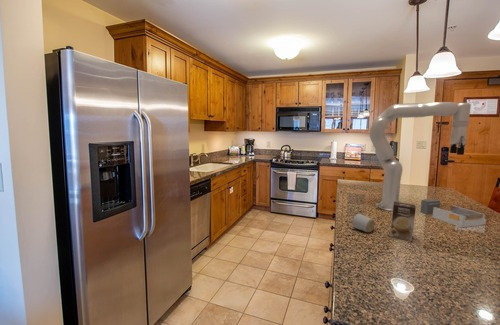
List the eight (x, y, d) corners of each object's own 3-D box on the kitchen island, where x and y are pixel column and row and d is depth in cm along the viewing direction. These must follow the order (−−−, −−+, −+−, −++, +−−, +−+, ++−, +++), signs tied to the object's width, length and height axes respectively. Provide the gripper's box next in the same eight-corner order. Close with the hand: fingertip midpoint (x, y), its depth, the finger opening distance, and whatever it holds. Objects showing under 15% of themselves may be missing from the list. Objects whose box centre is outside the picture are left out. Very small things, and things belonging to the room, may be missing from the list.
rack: (461, 227, 137) (462, 216, 136) (432, 217, 152) (433, 207, 152) (483, 224, 141) (485, 214, 140) (452, 215, 157) (453, 205, 156)
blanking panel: (426, 214, 157) (427, 201, 156) (420, 212, 161) (421, 199, 160) (438, 213, 160) (440, 200, 159) (432, 211, 164) (433, 199, 163)
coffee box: (389, 237, 123) (392, 204, 121) (390, 232, 129) (393, 201, 127) (412, 241, 119) (415, 207, 116) (412, 236, 124) (415, 204, 122)
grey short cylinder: (367, 234, 126) (368, 219, 125) (351, 229, 132) (353, 214, 131) (378, 230, 132) (379, 215, 131) (363, 225, 138) (364, 211, 138)
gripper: (446, 124, 160) (443, 152, 162) (458, 124, 144) (455, 155, 146) (461, 124, 158) (457, 152, 160) (475, 124, 141) (471, 155, 144)
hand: (456, 153), depth 153 cm, fingers open, 9 cm apart
